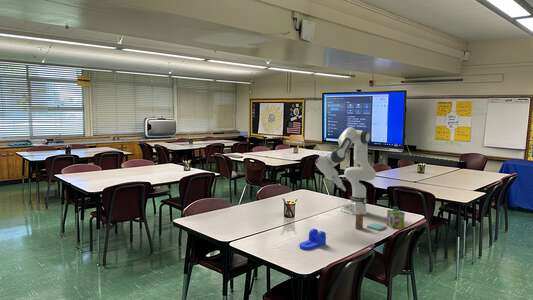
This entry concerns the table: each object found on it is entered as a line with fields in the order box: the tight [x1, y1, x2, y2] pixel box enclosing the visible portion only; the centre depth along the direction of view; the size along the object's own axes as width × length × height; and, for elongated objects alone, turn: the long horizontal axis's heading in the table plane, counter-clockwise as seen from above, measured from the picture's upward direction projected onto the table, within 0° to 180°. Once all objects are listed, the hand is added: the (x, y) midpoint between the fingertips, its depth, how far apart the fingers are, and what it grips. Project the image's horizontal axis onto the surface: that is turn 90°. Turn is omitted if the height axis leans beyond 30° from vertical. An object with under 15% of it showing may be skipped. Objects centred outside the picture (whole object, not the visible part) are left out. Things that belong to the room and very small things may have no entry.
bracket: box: [298, 228, 327, 251], centre depth 220 cm, size 18×8×9 cm, turn 131°
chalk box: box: [386, 206, 405, 229], centre depth 261 cm, size 9×9×15 cm
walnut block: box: [355, 212, 364, 230], centre depth 256 cm, size 5×5×11 cm
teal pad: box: [366, 222, 387, 232], centre depth 257 cm, size 10×10×2 cm
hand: (345, 189), depth 256 cm, fingers open, 8 cm apart
